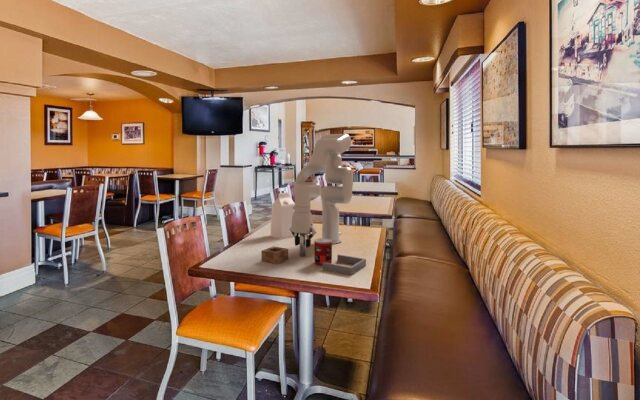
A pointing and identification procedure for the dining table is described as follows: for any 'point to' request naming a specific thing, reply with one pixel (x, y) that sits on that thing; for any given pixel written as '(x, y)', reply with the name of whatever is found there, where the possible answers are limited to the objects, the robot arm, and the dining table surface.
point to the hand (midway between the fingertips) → (302, 245)
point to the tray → (345, 269)
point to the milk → (282, 216)
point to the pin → (302, 244)
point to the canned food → (322, 251)
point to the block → (275, 255)
